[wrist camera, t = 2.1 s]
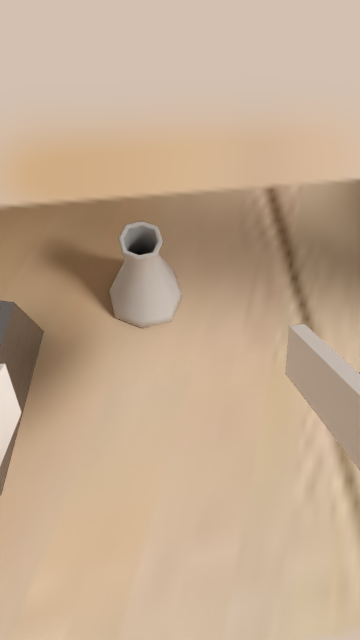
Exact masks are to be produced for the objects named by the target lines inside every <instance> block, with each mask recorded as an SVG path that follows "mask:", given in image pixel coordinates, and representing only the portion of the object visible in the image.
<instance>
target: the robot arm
mask: <svg viewBox="0 0 360 640" xmlns="http://www.w3.org/2000/svg"><path fill="white" fill-rule="evenodd" d="M285 374H286V375H287V376H288V378H289V379H290V380H291V382H292V383H293V384H294V386H295V387H296V388H297V389H298V391H299V392H300V393H301V395H302V396H303V397H304V399H305V400H306V401H307V402H308V404H309V405H310V406H311V408H312V409H313V410H314V412H315V413H316V414H317V415H318V417H319V418H320V419H321V421H322V422H323V423H324V425H325V426H326V427H327V428H328V430H329V431H330V432H331V434H332V435H333V436H334V438H335V439H336V440H337V441H338V443H339V444H340V445H341V447H342V448H343V449H344V451H345V452H346V453H347V454H348V456H349V457H350V458H351V460H352V461H353V462H354V464H355V465H356V466H357V467H358V469H359V470H360V373H359V372H358V371H356V370H355V369H354V368H353V367H352V366H351V365H350V364H349V363H347V362H346V361H345V360H344V359H343V358H342V357H341V356H340V355H338V354H337V353H336V352H335V351H334V350H333V349H332V348H331V347H330V346H328V345H327V344H326V343H325V342H324V341H323V340H322V339H321V338H319V337H318V336H317V335H316V334H315V333H314V332H313V331H312V330H310V329H309V328H308V327H307V326H306V325H305V324H301V325H293V326H289V335H288V347H287V360H286V372H285ZM20 415H21V410H20V407H19V404H18V401H17V398H16V395H15V392H14V389H13V386H12V383H11V380H10V377H9V374H8V371H7V368H6V365H5V363H4V364H0V465H1V463H2V460H3V458H4V455H5V453H6V450H7V448H8V445H9V443H10V440H11V438H12V435H13V433H14V430H15V428H16V425H17V423H18V420H19V418H20Z"/></svg>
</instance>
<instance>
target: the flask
mask: <svg viewBox="0 0 360 640" xmlns="http://www.w3.org/2000/svg"><path fill="white" fill-rule="evenodd" d="M119 242H120V246H121V250H122V254H123V255H124V262H123V265H122V267H121V269H120V270H119V272H118V274H117V276H116V278H115V280H114V282H113V284H112V286H111V288H110V290H109V294H110V298H111V302H112V307H113V311H114V315H115V318H117V319H120V320H123V321H125V322H128V323H130V324H133V325H135V326H138V327H141V328H145V327H150V326H154V325H158V324H162V323H166V322H170V321H171V320H172V318H173V316H174V313H175V311H176V309H177V306H178V304H179V302H180V299H181V297H182V295H181V292H180V289H179V286H178V282H177V279H176V276H175V273H174V271H173V269H172V268H171V267H170V266H169V265H168V264H167V263H166V262H165V261H164V259H163V258H162V257H161V256H160V254H159V249H160V247H161V245H162V243H163V241H162V238H161V234H160V231H159V228H158V226H155V225H152V224H149V223H147V222H144V221H140V222H135V223H130V224H126V225H125V227H124V229H123V231H122V233H121V234H120V236H119Z"/></svg>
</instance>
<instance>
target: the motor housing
mask: <svg viewBox="0 0 360 640" xmlns="http://www.w3.org/2000/svg"><path fill="white" fill-rule="evenodd" d="M42 335H43V330H42V329H41V328H40V327H39V326H38V325H37V324H36V323H35V322H34V321H33V320H32V319H31V318H30V317H29V316H28V315H27V314H25V313H24V312H23V311H22V310H21V309H20V308H19V307H18V306H17V305H16V304H15V303H14V302H7V301H0V364H4V363H5V365H6V368H7V371H8V374H9V377H10V380H11V383H12V386H13V389H14V392H15V395H16V398H17V401H18V404H19V407H20V410H21V415H20V418H19V420H18V423H17V425H16V428H15V430H14V433H13V435H12V438H11V440H10V443H9V445H8V448H7V450H6V453H5V455H4V458H3V460H2V463H1V465H0V495H1V494H2V490H3V486H4V482H5V478H6V474H7V470H8V467H9V463H10V459H11V455H12V451H13V447H14V443H15V440H16V436H17V432H18V428H19V424H20V420H21V416H22V412H23V409H24V405H25V401H26V397H27V393H28V389H29V385H30V382H31V378H32V374H33V370H34V366H35V362H36V358H37V354H38V351H39V347H40V343H41V339H42Z"/></svg>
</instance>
